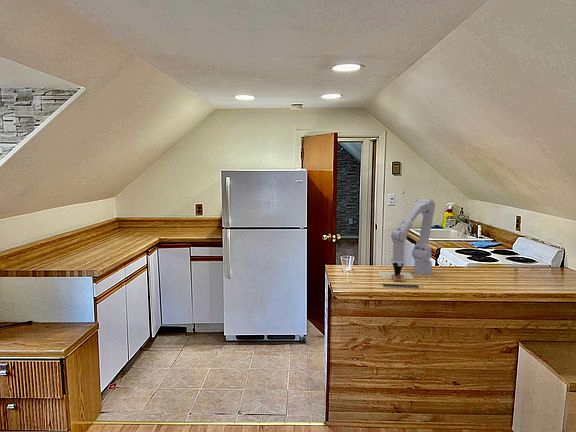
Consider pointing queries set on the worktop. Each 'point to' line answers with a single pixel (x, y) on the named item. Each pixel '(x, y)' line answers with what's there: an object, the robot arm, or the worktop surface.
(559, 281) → the worktop surface
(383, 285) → the mat
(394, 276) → the block
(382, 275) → the board
